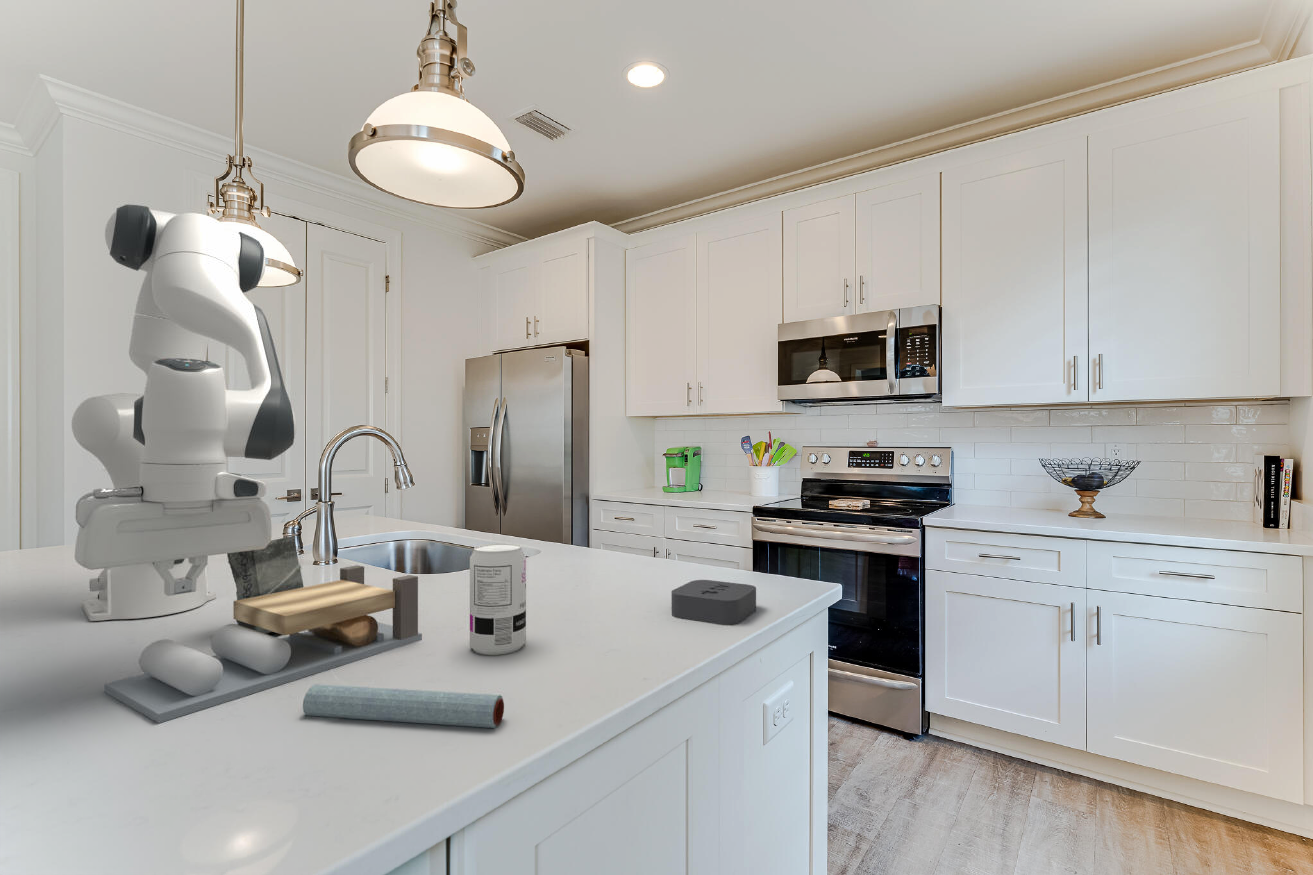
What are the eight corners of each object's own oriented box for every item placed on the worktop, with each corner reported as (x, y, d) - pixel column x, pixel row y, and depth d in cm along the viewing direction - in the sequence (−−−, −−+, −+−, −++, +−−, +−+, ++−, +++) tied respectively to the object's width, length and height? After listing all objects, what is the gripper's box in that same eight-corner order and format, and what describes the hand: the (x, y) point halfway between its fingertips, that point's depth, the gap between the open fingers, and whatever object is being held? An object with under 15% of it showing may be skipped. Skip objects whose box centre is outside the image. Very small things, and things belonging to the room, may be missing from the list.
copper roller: (301, 632, 96) (308, 603, 97) (328, 633, 100) (335, 604, 101) (346, 646, 90) (354, 615, 91) (374, 646, 93) (381, 616, 94)
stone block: (238, 641, 98) (262, 635, 96) (220, 550, 99) (243, 543, 97) (289, 624, 106) (312, 619, 105) (272, 541, 108) (294, 534, 106)
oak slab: (233, 618, 89) (233, 601, 89) (341, 595, 103) (341, 579, 103) (285, 635, 82) (285, 616, 82) (395, 607, 95) (395, 590, 95)
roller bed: (104, 691, 78) (104, 611, 78) (361, 623, 107) (361, 564, 107) (158, 723, 69) (158, 632, 69) (421, 639, 98) (421, 575, 98)
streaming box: (734, 629, 104) (734, 602, 104) (666, 619, 110) (666, 593, 110) (760, 610, 116) (760, 585, 116) (696, 602, 122) (696, 578, 122)
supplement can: (458, 647, 94) (458, 547, 94) (506, 635, 101) (506, 541, 101) (488, 660, 89) (488, 554, 89) (536, 646, 95) (536, 547, 95)
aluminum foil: (505, 720, 71) (505, 690, 71) (480, 749, 65) (480, 716, 65) (321, 708, 74) (321, 679, 74) (279, 735, 68) (279, 703, 68)
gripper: (85, 491, 70) (81, 615, 70) (279, 483, 87) (275, 583, 87) (67, 487, 74) (64, 605, 74) (257, 480, 91) (253, 576, 91)
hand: (180, 593), depth 81 cm, fingers closed
